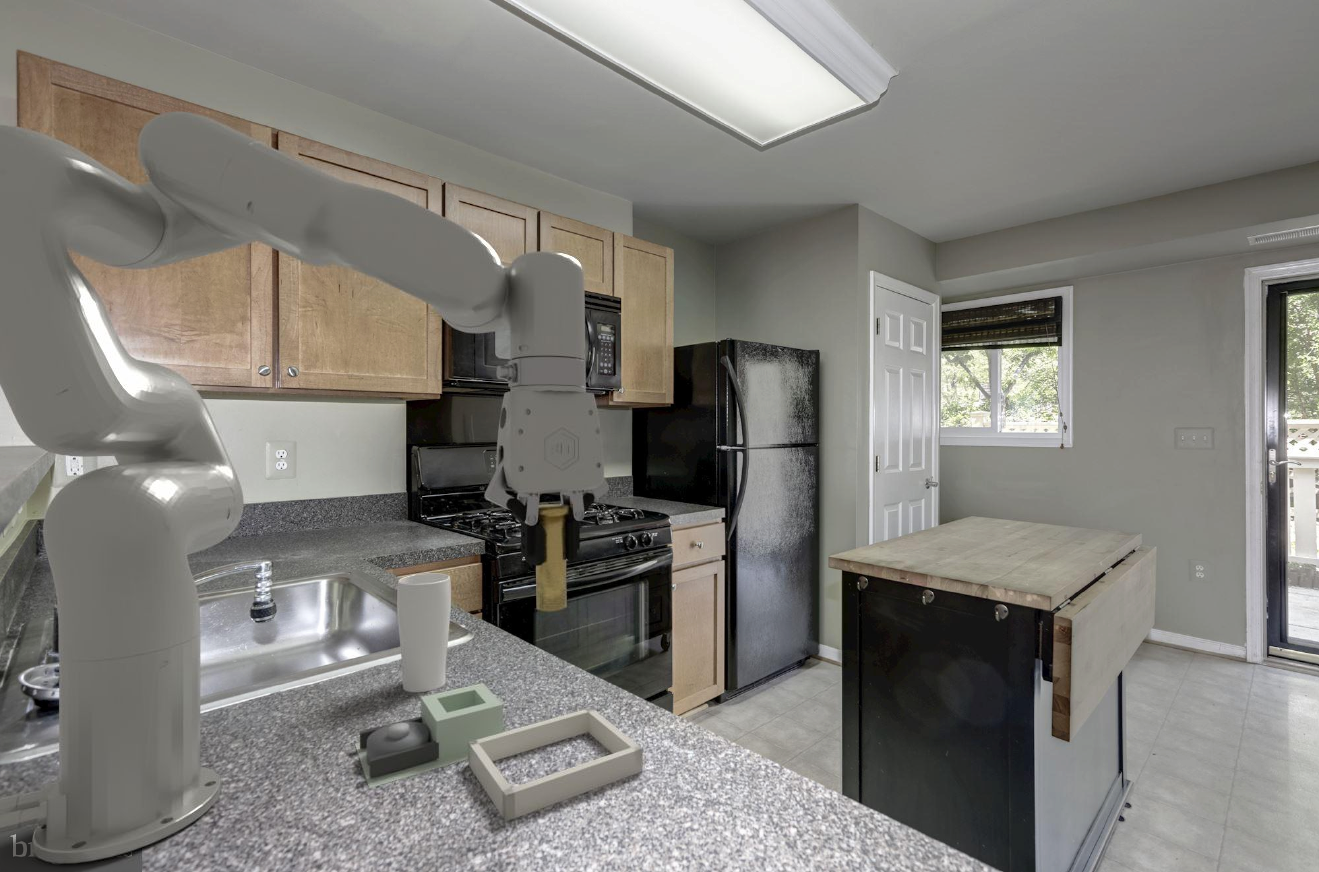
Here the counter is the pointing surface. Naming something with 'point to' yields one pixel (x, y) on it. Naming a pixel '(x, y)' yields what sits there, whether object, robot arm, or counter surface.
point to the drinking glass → (424, 629)
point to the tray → (561, 783)
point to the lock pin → (552, 558)
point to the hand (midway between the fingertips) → (551, 559)
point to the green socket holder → (430, 735)
